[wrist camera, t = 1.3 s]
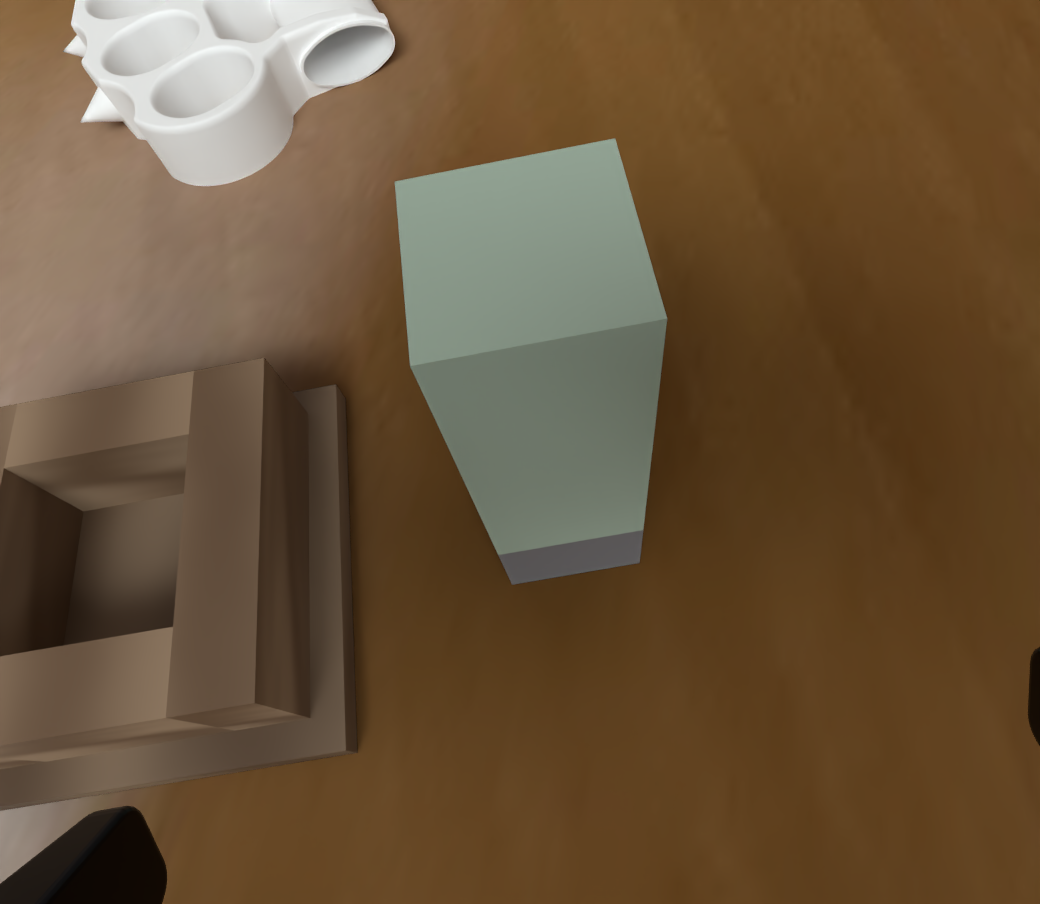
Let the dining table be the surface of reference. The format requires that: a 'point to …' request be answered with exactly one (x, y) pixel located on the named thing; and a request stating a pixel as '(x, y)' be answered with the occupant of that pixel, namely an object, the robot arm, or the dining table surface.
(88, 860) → the robot arm
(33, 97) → the dining table surface
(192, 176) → the white brass knuckles
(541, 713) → the dining table surface
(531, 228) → the sage green square pillar
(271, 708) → the wooden socket base
